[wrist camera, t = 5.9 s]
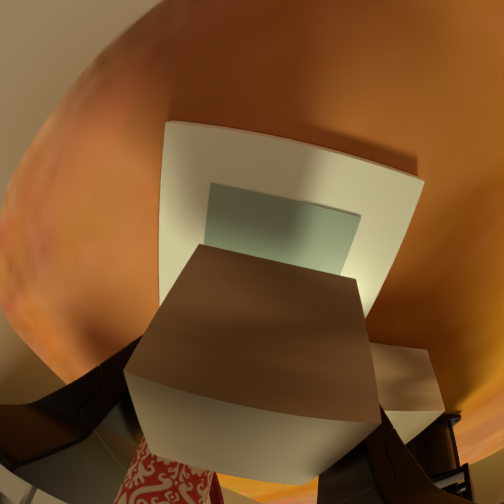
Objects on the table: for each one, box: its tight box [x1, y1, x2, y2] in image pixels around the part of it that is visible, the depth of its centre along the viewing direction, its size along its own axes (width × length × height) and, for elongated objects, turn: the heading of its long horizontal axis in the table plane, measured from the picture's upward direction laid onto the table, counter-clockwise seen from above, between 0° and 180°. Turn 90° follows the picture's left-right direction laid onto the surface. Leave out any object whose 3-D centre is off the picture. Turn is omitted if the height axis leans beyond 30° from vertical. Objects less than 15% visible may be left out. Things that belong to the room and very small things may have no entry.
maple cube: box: [370, 342, 445, 444], centre depth 15 cm, size 5×5×5 cm
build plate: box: [159, 120, 425, 319], centre depth 14 cm, size 11×11×1 cm
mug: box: [113, 437, 224, 504], centre depth 21 cm, size 13×9×14 cm
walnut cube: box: [123, 244, 382, 485], centre depth 8 cm, size 5×5×5 cm
